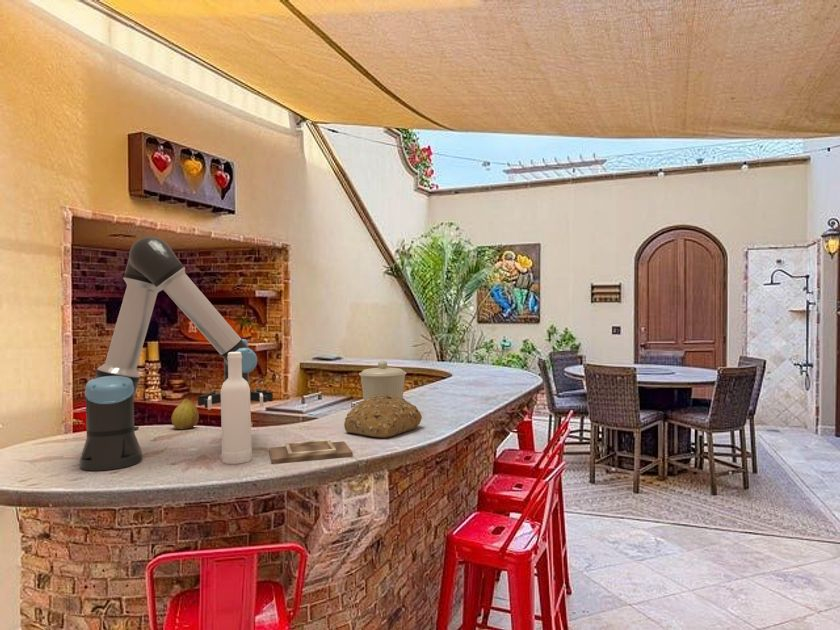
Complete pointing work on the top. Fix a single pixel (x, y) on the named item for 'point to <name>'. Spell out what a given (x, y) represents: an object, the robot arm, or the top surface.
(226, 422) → the bottle
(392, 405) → the bread
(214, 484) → the top surface
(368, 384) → the canister
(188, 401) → the fruit
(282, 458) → the serving board
